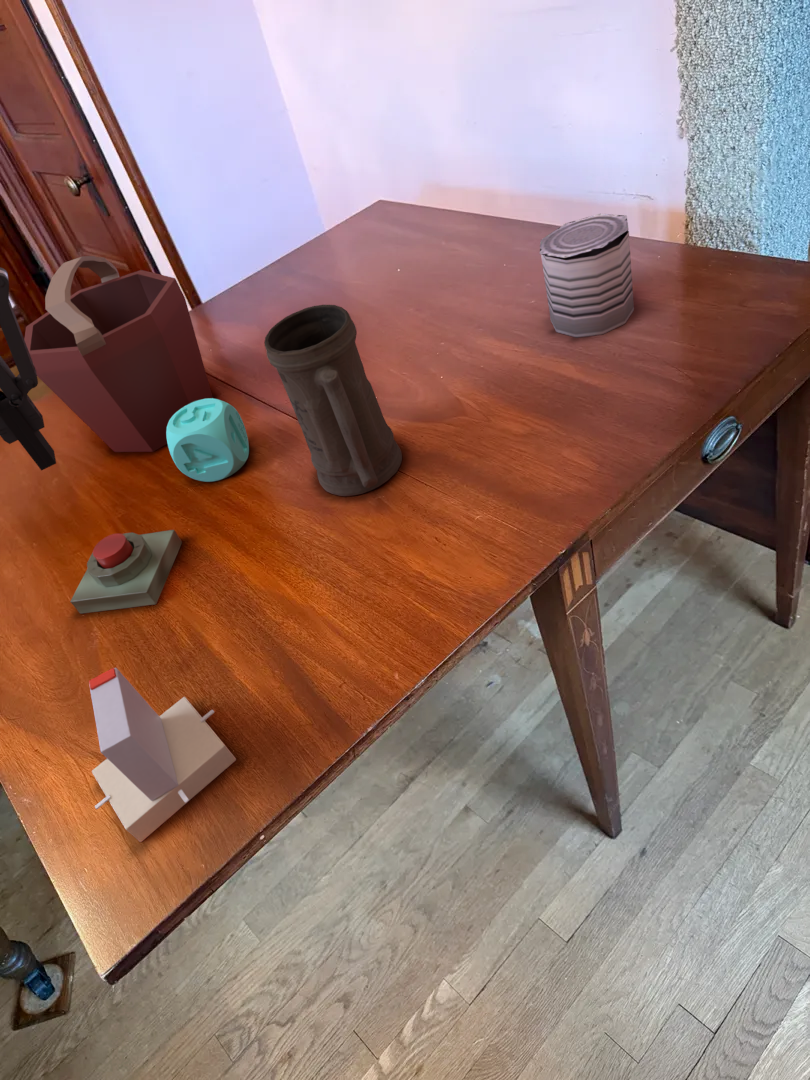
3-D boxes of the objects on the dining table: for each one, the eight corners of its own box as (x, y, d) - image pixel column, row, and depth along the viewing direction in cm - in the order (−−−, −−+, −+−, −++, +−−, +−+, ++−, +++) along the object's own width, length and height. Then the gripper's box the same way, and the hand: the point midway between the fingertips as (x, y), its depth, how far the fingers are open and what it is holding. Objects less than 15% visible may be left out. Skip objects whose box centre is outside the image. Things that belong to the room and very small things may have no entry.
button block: (156, 604, 84) (138, 580, 81) (80, 614, 86) (60, 591, 84) (182, 542, 91) (167, 518, 88) (111, 552, 93) (94, 529, 91)
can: (597, 345, 97) (588, 258, 90) (533, 327, 105) (519, 245, 97) (652, 303, 101) (648, 215, 93) (585, 288, 109) (576, 206, 101)
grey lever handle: (179, 785, 62) (129, 733, 57) (151, 801, 62) (98, 750, 57) (161, 718, 68) (114, 665, 63) (136, 732, 68) (86, 679, 62)
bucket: (197, 460, 103) (101, 294, 87) (62, 482, 109) (-52, 330, 92) (242, 365, 121) (169, 212, 104) (124, 388, 126) (37, 246, 110)
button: (126, 566, 84) (118, 556, 83) (95, 570, 85) (87, 560, 84) (138, 541, 87) (130, 531, 86) (108, 546, 88) (100, 535, 87)
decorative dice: (245, 475, 98) (219, 426, 92) (189, 488, 99) (160, 440, 94) (252, 439, 104) (228, 391, 98) (199, 452, 105) (173, 405, 100)
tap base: (139, 870, 61) (122, 856, 59) (86, 779, 69) (70, 764, 67) (258, 765, 65) (246, 749, 63) (196, 691, 73) (183, 675, 71)
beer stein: (304, 465, 96) (244, 331, 81) (376, 426, 97) (330, 288, 83) (355, 533, 85) (297, 392, 71) (435, 488, 87) (393, 342, 73)
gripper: (-50, 173, 59) (106, 414, 75) (-214, 239, 57) (-18, 473, 73) (-53, 191, 54) (116, 447, 70) (-233, 265, 52) (-17, 512, 68)
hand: (47, 460), depth 71 cm, fingers closed
